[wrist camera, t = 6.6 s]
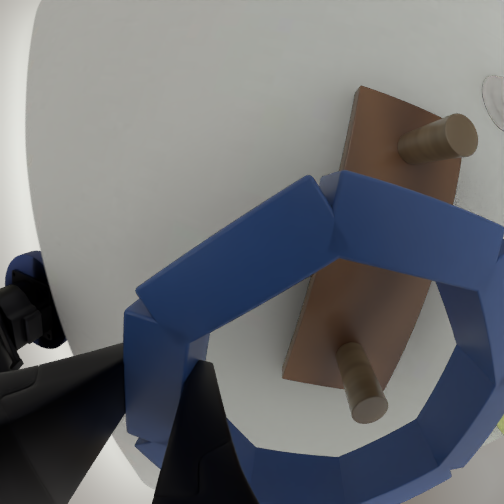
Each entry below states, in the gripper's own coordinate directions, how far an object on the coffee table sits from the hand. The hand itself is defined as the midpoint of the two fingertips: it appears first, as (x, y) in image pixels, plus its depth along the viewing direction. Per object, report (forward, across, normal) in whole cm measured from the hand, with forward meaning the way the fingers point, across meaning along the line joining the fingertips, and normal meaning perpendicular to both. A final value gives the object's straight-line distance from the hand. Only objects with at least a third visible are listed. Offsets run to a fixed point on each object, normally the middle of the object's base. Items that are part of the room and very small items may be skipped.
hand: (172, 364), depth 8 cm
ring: (+1, -5, 0) cm, 5 cm away
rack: (+12, -9, -3) cm, 15 cm away
